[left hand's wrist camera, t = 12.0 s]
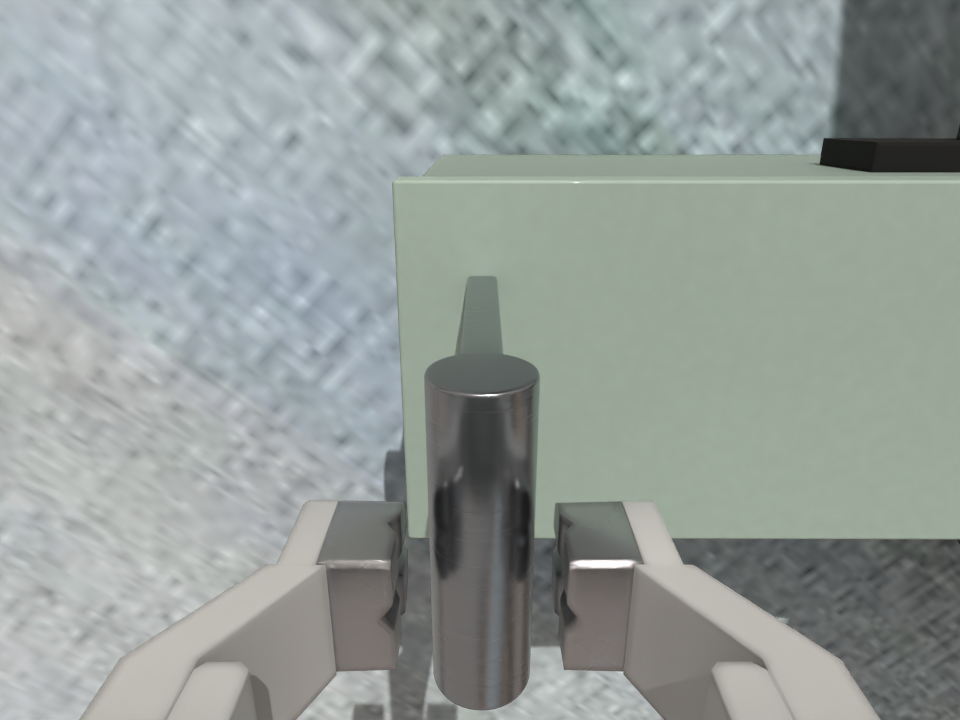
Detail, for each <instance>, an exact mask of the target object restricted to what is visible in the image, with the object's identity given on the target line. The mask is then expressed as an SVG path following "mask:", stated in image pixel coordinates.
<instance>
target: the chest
mask: <svg viewBox="0 0 960 720" xmlns="http://www.w3.org/2000/svg"><path fill="white" fill-rule="evenodd" d="M820 158H821V155H443V156H441V157H440V158H439V159H438V161H437V162H436V163H435V164H434V165H433V166H432V167H431V168H430V169H429V170H428V171H427V172H426V173H425V174H424V175H423V176H422V177H960V173H878V172H864V171H857V170H851V169H844V168H838V167H831V166H824V165H819V163H820Z"/></svg>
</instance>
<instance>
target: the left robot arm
mask: <svg viewBox="0 0 960 720" xmlns="http://www.w3.org/2000/svg"><path fill="white" fill-rule="evenodd" d="M553 526H554V532H555V538H556V544H557V545H556V547H555V548H554V549H553V550H552V591H553V601H554V608H555V613H557V614H558V615H559V633H558V635H559V641H560V647H561V653H562V660H563V666H564V670H593V671H624V673H623V674H624V675H625V676H626V678H627V679H628V680H629V681H630V682H631V683H632V684H633V685H634V687H635V688H636V689H637V690H638V691H639V692H640V693H641V694H642V695H643V697H644V698H645V699H646V700H647V701H648V702H649V703H650V704H651V706H652V707H653V708H654V709H655V710H656V711H657V712H658V713H659V714H660V716H661V717H662V718H663V719H664V720H881V719H880V718H879V716H878V715H877V713H876V712H875V710H874V709H873V707H872V706H871V704H870V703H869V701H868V700H867V698H866V697H865V695H864V694H863V692H862V691H861V689H860V688H859V686H858V685H857V683H856V682H855V680H854V679H853V677H852V676H851V674H850V673H849V671H848V669H847V668H846V666H845V665H844V663H843V662H842V660H841V659H839V658H838V657H836V656H835V655H833V654H831V653H830V652H828V651H827V650H825V649H824V648H822V647H821V646H819V645H817V644H816V643H814V642H813V641H811V640H810V639H808V638H807V637H805V636H803V635H802V634H800V633H799V632H797V631H796V630H794V629H793V628H791V627H789V626H788V625H786V624H785V623H783V622H782V621H780V620H779V619H777V618H775V617H774V616H772V615H771V614H769V613H768V612H766V611H765V610H763V609H761V608H760V607H758V606H757V605H755V604H754V603H752V602H751V601H749V600H747V599H746V598H744V597H743V596H741V595H740V594H738V593H737V592H735V591H733V590H732V589H730V588H729V587H727V586H726V585H724V584H723V583H721V582H719V581H718V580H716V579H715V578H713V577H712V576H710V575H708V574H707V573H705V572H704V571H702V570H701V569H699V568H698V567H696V566H694V565H684V564H683V562H682V560H681V558H680V556H679V553H678V551H677V549H676V547H675V545H674V543H673V540H672V538H671V536H670V534H669V532H668V530H667V527H666V525H665V523H664V521H663V519H662V517H661V514H660V512H659V510H658V508H657V506H656V504H655V502H653V501H652V500H636V501H613V502H574V503H555V510H554V525H553ZM405 532H406V512H405V505H404V502H386V501H338V500H317V501H308V502H306V503H305V504H304V505H303V507H302V509H301V511H300V514H299V516H298V518H297V520H296V522H295V525H294V527H293V529H292V531H291V533H290V536H289V538H288V540H287V542H286V544H285V546H284V549H283V551H282V553H281V555H280V557H279V560H278V562H277V564H276V565H265V566H264V567H262V568H261V569H259V570H258V571H256V572H254V573H253V574H251V575H250V576H248V577H247V578H245V579H244V580H242V581H240V582H239V583H237V584H236V585H234V586H233V587H231V588H229V589H228V590H226V591H225V592H223V593H222V594H220V595H219V596H217V597H215V598H214V599H212V600H211V601H209V602H208V603H206V604H204V605H203V606H201V607H200V608H198V609H197V610H195V611H194V612H192V613H190V614H189V615H187V616H186V617H184V618H183V619H181V620H179V621H178V622H176V623H175V624H173V625H172V626H170V627H169V628H167V629H165V630H164V631H162V632H161V633H159V634H158V635H156V636H154V637H153V638H151V639H150V640H148V641H147V642H145V643H144V644H142V645H140V646H139V647H137V648H136V649H134V650H133V651H131V652H129V653H128V654H126V655H125V656H123V657H122V658H120V659H119V661H118V662H117V664H116V665H115V667H114V668H113V670H112V671H111V673H110V674H109V676H108V677H107V679H106V680H105V682H104V683H103V685H102V686H101V688H100V689H99V691H98V692H97V694H96V695H95V697H94V698H93V700H92V701H91V703H90V704H89V706H88V707H87V709H86V710H85V712H84V713H83V715H82V716H81V718H80V719H79V720H296V719H297V718H298V717H299V716H300V715H301V714H302V712H303V711H304V710H305V709H306V708H307V707H308V706H309V705H310V704H311V702H312V701H313V700H314V699H315V698H316V697H317V696H318V695H319V694H320V692H321V691H322V690H323V689H324V688H325V687H326V686H327V685H328V684H329V682H330V681H331V680H332V679H333V678H334V677H335V676H336V671H366V670H396V666H397V660H398V653H399V647H400V641H401V615H402V614H403V613H404V612H405V607H406V600H407V587H408V550H407V549H406V548H405V547H404V545H403V544H404V538H405Z"/></svg>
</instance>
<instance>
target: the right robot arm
mask: <svg viewBox="0 0 960 720" xmlns="http://www.w3.org/2000/svg"><path fill="white" fill-rule="evenodd" d="M819 165H824V166H831V167H838V168H844V169H851V170H857V171H864V172H878V173H960V126H959V131H958V135H957V139H892V138H824V141H823V146H822V152H821V158H820V163H819ZM957 541H958V543H959V544H960V539H957Z"/></svg>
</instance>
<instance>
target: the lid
mask: <svg viewBox="0 0 960 720" xmlns="http://www.w3.org/2000/svg"><path fill="white" fill-rule="evenodd" d="M392 190H393V212H394V233H395V255H396V277H397V299H398V321H399V343H400V364H401V386H402V408H403V430H404V452H405V474H406V495H407V517H408V535H409V538H429V546H430V577H431V607H432V638H433V669H434V678H435V681H436V684H437V686H438V688H439V689H440V691H441V692H442V693H443V695H444V696H445V697H446V698H448V699H449V700H450V701H451V702H453V703H455V704H457V705H459V706H461V707H464V708H467V709H472V710H491V709H496V708H500V707H502V706H505V705H507V704H509V703H510V702H512V701H513V700H515V699H516V698H517V697H518V696H519V695H520V694H521V693H522V691H523V690H524V688H525V687H526V685H527V682H528V679H529V674H530V649H531V620H532V592H533V564H534V539H556V538H555V532H554V526H553V525H554V510H555V503H574V502H613V501H636V500H652V501H653V502H655V504H656V506H657V508H658V510H659V512H660V514H661V517H662V519H663V521H664V523H665V525H666V527H667V530H668V532H669V534H670V536H671V538H672V539H960V177H398V178H396V179H395V180H394V181H393V183H392Z"/></svg>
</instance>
